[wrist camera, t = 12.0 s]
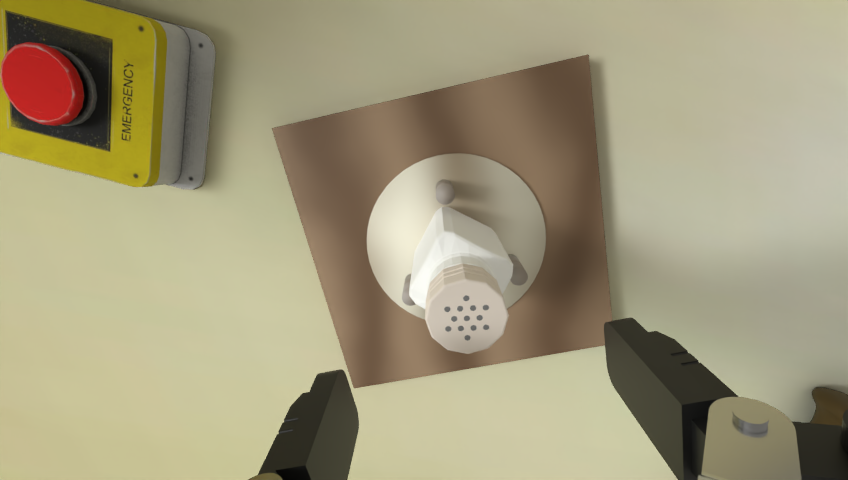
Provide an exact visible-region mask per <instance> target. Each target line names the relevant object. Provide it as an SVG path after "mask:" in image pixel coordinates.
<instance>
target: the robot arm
mask: <svg viewBox="0 0 848 480" xmlns="http://www.w3.org/2000/svg"><path fill="white" fill-rule="evenodd" d="M604 338H605V349H606V360H607V369H608V373H609V376H610V379H611V382H612V384H613V386H614V388H615V389H616V391H617V392H618V394H619V395H620V397H621V398H622V400H623V401H624V402H625V404H626V405H627V407H628V408H629V410H630V411H631V413H632V414H633V415H634V417H635V418H636V420H637V421H638V423H639V424H640V425H641V427H642V428H643V430H644V431H645V433H646V434H647V436H648V437H649V438H650V440H651V441H652V443H653V444H654V446H655V447H656V449H657V450H658V451H659V453H660V454H661V456H662V457H663V459H664V460H665V462H666V463H667V464H668V466H669V467H670V469H671V470H672V472H673V473H674V474H675V476H676V477H677V479H678V480H848V409H847V410H846V411H845V412H844V414H843V419H842V426H840V425H826V424H813V423H801V422H793V421H791V420H790V419H789V418H788V417H787V416H786V415H785V414H783V413H782V412H781V411H779V410H778V409H776V408H774V407H772V406H770V405H768V404H766V403H763V402H760V401H757V400H753V399H749V398H743V397H738V396H737V395H736V394H735V393H734V392H733V391H732V390H730V389H729V388H728V387H727V386H726V385H725V384H724V383H723V382H722V381H720V380H719V379H718V378H717V377H716V376H715V375H714V374H713V373H711V372H710V371H709V370H708V369H707V368H706V367H705V366H704V365H702V364H701V363H699V362H698V360H697V359H696V358H695V357H694V356H692V355H691V354H690V353H688V352H687V350H686V349H685V348H683V347H682V346H681V345H680V344H679V343H678V342H677V341H676V340H675V339H672V338H670V337H668V336H666V335H664V334H661V333H659V332H657V331H654V332H647V331H646V330H645V329H644V328H643V327H642V326H641V325H640V324H639V323H638V322H637V321H636V320H635V319H633V318H626V319H620V320H615V321H609V322H605V324H604ZM358 428H359V420H358V412H357V408H356V405H355V402H354V399H353V396H352V393H351V389H350V386H349V383H348V380H347V377H346V374H345V372H344V371H343V370H336V371H330V372H325V373H319V374H318V375H317V376H316V378H315V381H314V383H313V385H312V387H311V390H310V392H307V393H303V394H302V395H301V396H300V397H299V398H298V399H297V400H296V401H295V402H294V403H293V404H292V405H291V407H290V409H289V411H288V413H287V415H286V417H285V419H284V423H282V425H281V428H280V430H279V434H277V436H276V438H275V440H274V442H273V444H272V446H271V448H270V451H269V453H268V455H267V457H266V459H265V461H264V463H263V465H262V467H261V469H260V471H259V474H258V475H257V476H254V477H252V478H250V479H249V480H347V478H348V474H349V470H350V465H351V461H352V456H353V452H354V447H355V443H356V438H357V434H358Z"/></svg>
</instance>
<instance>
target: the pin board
mask: <svg viewBox="0 0 848 480" xmlns="http://www.w3.org/2000/svg"><path fill="white" fill-rule="evenodd" d="M272 130H273V133H274V137H275V140H276V143H277V146H278V149H279V152H280V156H281V159H282V162H283V165H284V168H285V171H286V175H287V178H288V181H289V184H290V187H291V190H292V194H293V197H294V200H295V203H296V206H297V209H298V213H299V216H300V219H301V222H302V225H303V228H304V232H305V235H306V238H307V241H308V244H309V247H310V251H311V254H312V257H313V260H314V263H315V266H316V270H317V273H318V276H319V279H320V282H321V285H322V289H323V292H324V295H325V298H326V301H327V304H328V308H329V311H330V314H331V317H332V320H333V323H334V327H335V330H336V333H337V336H338V339H339V342H340V346H341V349H342V352H343V355H344V358H345V361H346V365H347V368H348V371H349V374H350V377H351V381H352V384H353V387H354V388H359V387H364V386H370V385H376V384H382V383H388V382H393V381H399V380H405V379H411V378H417V377H422V376H428V375H434V374H440V373H446V372H452V371H457V370H463V369H469V368H475V367H481V366H486V365H492V364H498V363H504V362H510V361H515V360H521V359H527V358H533V357H539V356H544V355H550V354H556V353H562V352H568V351H574V350H579V349H585V348H591V347H597V346H603V345H605V338H604V324H605V322H609V321H612V314H611V303H610V291H609V280H608V269H607V257H606V246H605V235H604V224H603V212H602V201H601V190H600V178H599V167H598V156H597V144H596V133H595V122H594V111H593V99H592V88H591V77H590V65H589V55H584V56H580V57H576V58H571V59H567V60H563V61H559V62H554V63H550V64H546V65H541V66H537V67H533V68H529V69H524V70H520V71H516V72H511V73H507V74H503V75H499V76H494V77H490V78H486V79H481V80H477V81H473V82H468V83H464V84H460V85H456V86H451V87H447V88H443V89H438V90H434V91H430V92H426V93H421V94H417V95H413V96H408V97H404V98H400V99H396V100H391V101H387V102H383V103H378V104H374V105H370V106H366V107H361V108H357V109H353V110H348V111H344V112H340V113H335V114H331V115H327V116H323V117H318V118H314V119H310V120H305V121H301V122H297V123H293V124H288V125H284V126H280V127H275V128H272ZM441 207H450V208H452V209H454V210H456V211H458V212H460V213H462V214H464V215H466V216H468V217H470V218H472V219H474V220H476V221H478V222H480V223H482V224H484V225H486V226H488V227H490V228H492V230H493V231H494V232H495V233H496V234H497V236H498V238H499V240H500V242H501V243H502V245H503V247H504V249H505V251H506V252H507V254H508V256H509V258H510V260H511V261H512V263H513V274H512V277H511V279H510V281H509V283H508V285H507V287H506V289H505V291H504V292H503V294H502V295H503V298H504V301H505V304H506V308H507V311H508V314H509V317H508V320H507V323H506V327H505V330H504V333H503V335H502V336H501V337H500V338H499V339H498V340H497V341H496V342H495V343H493V344H492V345H491V346H490V347H489V348H488V349H484V350H481V351H477V352H473V353H470V354H465V353H460V352H455V351H450V350H447V349H446V348H444V347H443V346H442V345H441V344H439V343H438V342H437V341H436V340H434V339H433V338H432V337H431V334H430V331H429V329H428V326H427V323H426V321H425V309H423V308H422V307H420V306H418V305H417V304H415V302H414V301H413V300H412V299H411V297H410V296H409V287H410V280H411V273H412V266H413V259H414V252H415V250H416V248H417V246H418V244H419V243H420V241H421V239H422V237H423V235H424V233H425V231H426V229H427V227H428V225H429V223H430V221H431V220H432V218H433V216H434V214H435V212H436V211H437V210H438V209H439V208H441Z"/></svg>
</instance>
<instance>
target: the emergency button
mask: <svg viewBox="0 0 848 480" xmlns="http://www.w3.org/2000/svg"><path fill="white" fill-rule="evenodd" d="M215 58H216V51H215V46H214V43H213V42H212V41H211V39H210V38H209V37H208V36H207V35H205V34H204V33H202V32H200V31H198V30H195V29H191V28H187V27H184V26H180V25H176V24H173V23H169V22H166V21H162V20H158V19H155V18H151V17H147V16H144V15H140V14H136V13H133V12H129V11H126V10H122V9H118V8H115V7H111V6H107V5H104V4H100V3H96V2H93V1H89V0H0V153H1V154H5V155H9V156H13V157H17V158H21V159H25V160H29V161H33V162H37V163H41V164H45V165H49V166H53V167H57V168H61V169H65V170H69V171H73V172H77V173H81V174H85V175H89V176H93V177H97V178H101V179H104V180H108V181H112V182H116V183H120V184H124V185H128V186H132V187H148V186H153V185H163V184H165V185H169V186H173V187H177V188H181V189H195V188H197V187H199V186H201V185H202V183H203V181H204V177H205V166H206V155H207V145H208V134H209V123H210V112H211V102H212V91H213V80H214V69H215Z"/></svg>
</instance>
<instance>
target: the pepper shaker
mask: <svg viewBox="0 0 848 480" xmlns="http://www.w3.org/2000/svg"><path fill="white" fill-rule="evenodd" d="M512 274H513V263H512V261H511V260H510V258H509V256H508V254H507V252H506V251H505V249H504V247H503V245H502V243H501V242H500V240H499V238H498V236H497V234H496V233H495V232H494V231H493V230H492V228H490V227H488V226H486V225H484V224H482V223H480V222H478V221H476V220H474V219H472V218H470V217H468V216H466V215H464V214H462V213H460V212H458V211H456V210H454V209H452V208H450V207H441V208H439V209H438V210H437V211H436V212H435V214H434V216H433V218H432V220H431V221H430V223H429V225H428V227H427V229H426V231H425V233H424V235H423V237H422V239H421V241H420V243H419V244H418V246H417V248H416V250H415V252H414V259H413V266H412V273H411V280H410V287H409V296H410V297H411V299H412V300H413V301H414V302H415V304H417V305H418V306H420V307H422V308H423V309H425V321H426V323H427V326H428V329H429V331H430V334H431V337H432V338H433V339H434V340H436V341H437V342H438V343H439V344H441V345H442V346H443V347H444V348H446V349H447V350H450V351H455V352H460V353H465V354H470V353H473V352H477V351H481V350H484V349H488V348H489V347H490V346H491V345H492V344H493V343H495V342H496V341H497V340H498V339H499V338H500V337H501V336H502V335H503V333H504V330H505V327H506V323H507V320H508V317H509V314H508V311H507V308H506V304H505V301H504V298H503V295H502V294H503V292H504V291H505V289H506V287H507V285H508V283H509V281H510V279H511V277H512Z"/></svg>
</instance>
